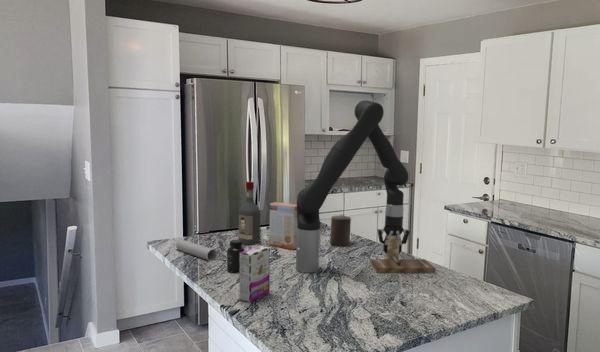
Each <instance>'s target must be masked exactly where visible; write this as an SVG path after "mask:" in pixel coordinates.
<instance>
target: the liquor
mask: <svg viewBox="0 0 600 352" xmlns="http://www.w3.org/2000/svg"><path fill="white" fill-rule="evenodd" d="M245 183H246V184H245V188H246V191H245V192H246V193H245V194H246V195H245V202H243V204H242V205H241V206H240V207H239V210H238V240H242V245H245V246H253V245H257V244H260V241H261V235H260V234H261V209H260V207H259V205H257V204H256V203H255V200H254V186H255V185H254V183H255V182H254V181H245Z"/></svg>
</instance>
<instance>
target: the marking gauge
mask: <svg viewBox="0 0 600 352" xmlns="http://www.w3.org/2000/svg"><path fill="white" fill-rule="evenodd" d="M387 237H388V236H387ZM399 241H400V240H398V237H397V236H391V238H390V240H388V244H387V245H388V248H387V253H384V254H385V255H384V257H385V258H384V259H393V260H394V261H395V262H396V263H397V264H398V265H400V264H401V262H400V261H398V260H397V259H400V258H399V255H400V253H399Z"/></svg>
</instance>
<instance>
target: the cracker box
mask: <svg viewBox="0 0 600 352" xmlns="http://www.w3.org/2000/svg"><path fill="white" fill-rule="evenodd" d="M268 229H269V233H268V234H269V236H268V237H269V238H268V240H269V241H268V246H271V247H276V248H277V247H278V248H283V249H288V250H290V251H291V250H293V251H294V250H296V245H297V203H296V204H295V203H287V202H278V201H275V202H271V203H269V228H268Z"/></svg>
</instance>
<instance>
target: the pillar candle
mask: <svg viewBox="0 0 600 352" xmlns="http://www.w3.org/2000/svg"><path fill="white" fill-rule="evenodd" d="M351 222H352V218H351V216H346V215H332V216H331V221H330V237H329V243H330V245H331V246H334V247H339V248H340V247H341V248H343V247H344V248H345V247H349V246H350V245H351V243H350V242H351Z"/></svg>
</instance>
